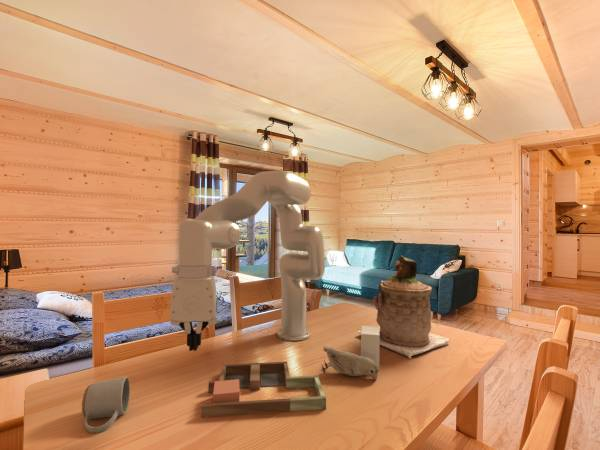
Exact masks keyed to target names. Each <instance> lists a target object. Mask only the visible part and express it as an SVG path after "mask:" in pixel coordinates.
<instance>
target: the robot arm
mask: <svg viewBox="0 0 600 450" xmlns="http://www.w3.org/2000/svg"><path fill="white" fill-rule="evenodd" d="M311 195H312V191H311V187H310V185H309V183H308V181H307V180H305V179H304V178H302V177H300V176H298V175H296V174H295V173H292V172H290V171H287V170H270V171H260V172H257V173H255V174H254V175H253V176H252V177H251V178H250V179H248V181H247V182H246V183H245V184H244V185H242V187H241V188H239V189H238V190H237V192H235V193H234V194H231V195H228V196H227V197H226V198H223V199H221V200H220V201H217V202H215V203H213V204H211V205H210V206H208V207H206V208H205V209H204V210H202V211H201V212H200V213H199V214H198V215H197V216H195V218H194V219H185V220H181V222H180V223H179V227H178V263H177V266H172V267H171V273H172V274H174V273H175V274H176V276H177V277H175V278H174V280H173V284H172V287H171V288H172V289H171V296H170V297H171V298H170V310H169V319H170V325H172V326H176V327H180V328H181V329H182V330H183V331H184V332H185V334H186V346H187V347H188V352H191V351H194V352H195V351H197V350H198V349H199V346H201V344H202V331H203V330H204V329H206V328H207V327H208V326H213V325H215V324H217V323H218V321H219V319H218V315H217V312H218V300H217V299H218V298H217V297H218V296H217V287H216V286H217V285H216V280H215V277H214V276H212V268H213V267H212V264H213V263H212V260H213V257H212V255H213V249H217V250H228V249H229V250H230V249H232V248H234V247H235V246H237V245H238V244H239V242H240V240H241V237H242V231H241V229H240V226H238V224H237V223H236V222H239V221H243V220H244V221H245V220H247V219H250V218H252V217H255V216H256V215H257V214H258V213H259V212H260V211H261V209H263V206H264V205H265V204H266V203H267V202H268V203H269V204H270V205H271V206H272V207H273V208H274V209H275V210H276V213H277V215H278V222H279V233H280V241H281V245H282V248H283V249H285V250H286V251H296V252H288V253H285V254H283V255H282V256H281V257H280V259H279V263H278V267H279V274H280V281H281V315H280V316H281V317H280V319H281V320H280V321H281V322H280V323H281V324H280V325H281V327H280V328H279V329H278V330H277V331H276V336H277V337H278V338H279V339H281V340H284V341H289V342H290V341H292V342H293V341H294V342H296V341H298V342H299V341H303V340H305V339H308V338H309V337H310V336H311V331H310V330H309V329H308V328H307V327H306V326H307V287H306V285H305V283H304V281H303V280H309V281H317V280H320V279H322V278H323V277H324V275H325V267H326V266H325V265H326V263H325V249H324V247H325V246H324V236H323V233H322V232H323V231H322V230H321V229H320V228H319V227H318V226H315V225H304V224H303V217H302V210H301V208H300V207H299V206H301V205H305V204H307V203H308V202H309V201H310V199H311ZM297 251H298V252H297ZM301 252H306V253H301ZM193 323H196V328H194V324H193Z"/></svg>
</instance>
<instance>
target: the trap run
mask: <svg viewBox="0 0 600 450" xmlns="http://www.w3.org/2000/svg"><path fill="white" fill-rule="evenodd" d="M318 375H319V374H318ZM318 375H316V374H315V375H299V376H298V375H297V376H290V370H289V365H288V361H270V362H251V363H250V362H249V363H248V362H247V363H232V364H231V363H228V364H226V363H225V364H222V367H221V371H220V375H219V380H218V381H225V380H236V379H239V389H249V391H260V389H261V388H267V387H285V388H286V389H298V388H312V387H314V390H315V392H316V396H304V397H292V398H291V397H290V398H289V397H288V398H274V399H273V398H272V399H257V400H244V401H243V400H241V401H240V400H239V402H224V403H213V402H212V403H211V402H210V403H202V404H201V408H200V409H201V412H200V413H201V414H200V418H213V417H227V416H243V415H256V414H258V415H259V414H271V413H272V414H273V413H286V412H299V411H300V412H301V411H314V410H316V411H317V410H327V397H326V394H325V392H324V389H323V386H322V383H321V381H320V379H319V376H318ZM215 381H216V380H209V381H208V390H207V391H208V393H209V394H213V392H214V383H215Z"/></svg>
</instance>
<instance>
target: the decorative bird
mask: <svg viewBox="0 0 600 450" xmlns="http://www.w3.org/2000/svg"><path fill="white" fill-rule="evenodd" d="M322 347H323V348H322V350H323V351H324V352H325V353H326V355H327V358H328V363H326V361H325V360H323V363H324V365H323V364H321V370H322V371H323V373H326V370H327V369H328V368H330V367H332V368H333V369H334V370H335V371H337V372H340V373H342V374H345V375H348V376H350V377H359V376H363V375H367V376H369V377H371V378H372V379H373V380H374V381H377V379H378V374H379V373H378V372H379V370H378V369H377V365H376V363H375V362H374V361H373V360H372V359H370V358H367V357H362V356H361V355H358V354H356V353H352V352H348V351H344V350H339V349H336V348H333V347H329V346H326V345H323V346H322ZM324 366H325V367H324Z"/></svg>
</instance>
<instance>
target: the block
mask: <svg viewBox="0 0 600 450" xmlns="http://www.w3.org/2000/svg"><path fill="white" fill-rule="evenodd" d="M214 381H215V383H214V392H213V393H212V403H224V402H239V401H240V388H239V379H236V380H226V379H225V381H219V380H214Z"/></svg>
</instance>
